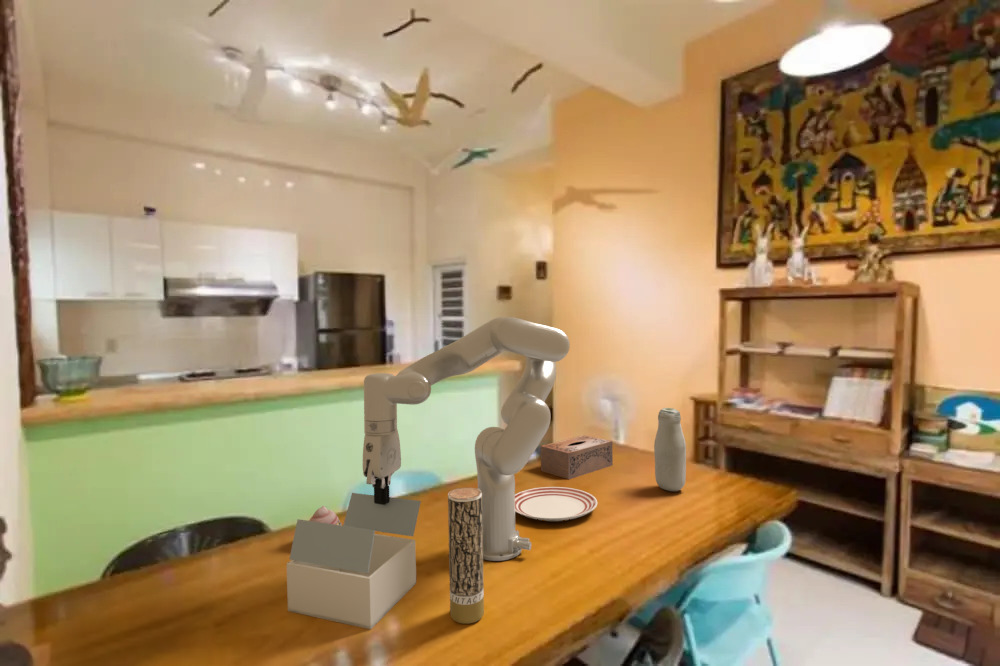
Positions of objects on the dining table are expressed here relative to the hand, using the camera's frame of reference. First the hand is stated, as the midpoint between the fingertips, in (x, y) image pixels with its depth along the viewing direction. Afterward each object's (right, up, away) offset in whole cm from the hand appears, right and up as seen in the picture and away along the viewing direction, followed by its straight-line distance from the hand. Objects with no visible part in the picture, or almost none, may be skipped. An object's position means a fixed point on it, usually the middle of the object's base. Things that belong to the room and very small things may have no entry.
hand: (381, 502), depth 122 cm
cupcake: (-19, -17, +17) cm, 30 cm away
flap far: (0, -2, -1) cm, 2 cm away
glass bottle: (+86, -14, +53) cm, 102 cm away
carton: (-3, -17, -10) cm, 20 cm away
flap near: (-6, -3, -18) cm, 19 cm away
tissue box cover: (+58, -13, +80) cm, 100 cm away
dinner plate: (+44, -15, +37) cm, 60 cm away
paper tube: (+21, -17, -18) cm, 33 cm away
